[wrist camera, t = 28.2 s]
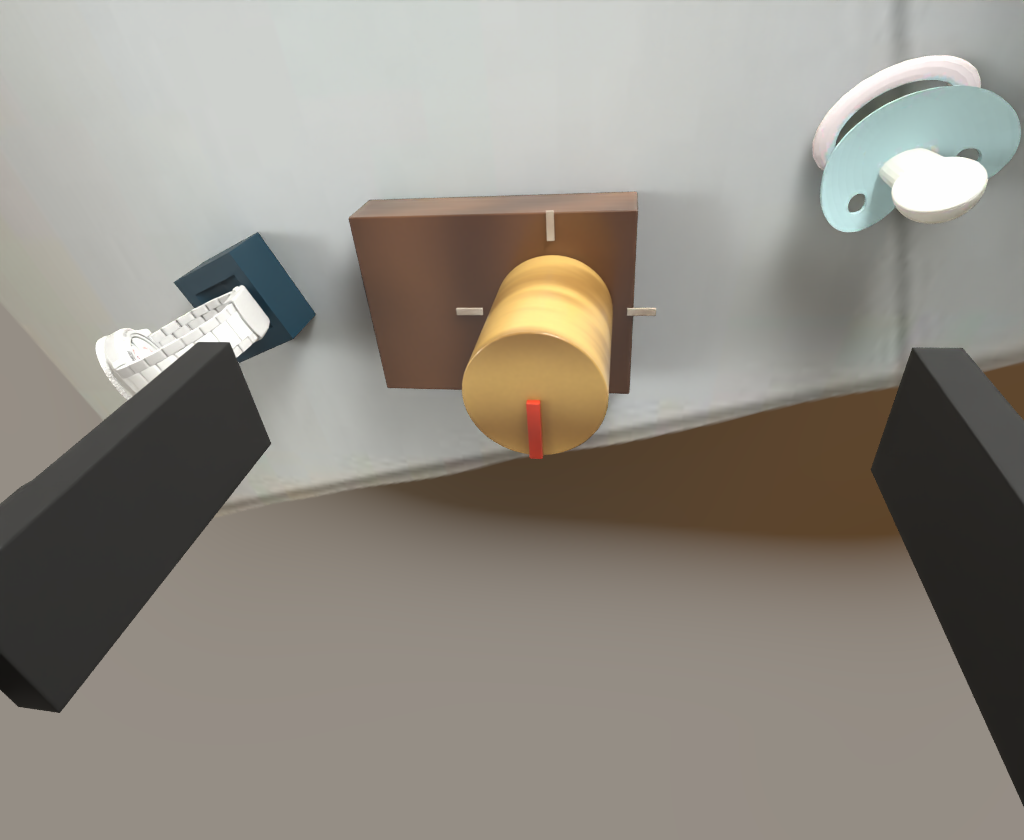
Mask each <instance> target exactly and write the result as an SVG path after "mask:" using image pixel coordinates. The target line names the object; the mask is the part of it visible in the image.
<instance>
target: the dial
mask: <svg viewBox="0 0 1024 840" xmlns="http://www.w3.org/2000/svg"><path fill="white" fill-rule="evenodd" d="M612 321H613V304H612V299H611V296H610V293H609V290H608V288H607V286H606V284H605V283H604V281H603V280H602V279H601V277H600V276H599V275H598V274H597V273H596V272H595V271H594V270H592V269H591V268H590V267H589V266H587V265H585V264H584V263H582V262H580V261H578V260H576V259H572V258H569V257H565V256H559V255H546V256H540V257H535V258H532V259H529V260H527V261H525V262H523V263H521V264H520V265H518V266H517V267H515V268H514V269H513V270H512V271H511V272H510V273H509V274H508V275H507V276H506V278H505V279H504V281H503V282H502V284H501V286H500V288H499V290H498V293H497V295H496V298H495V300H494V302H493V305H492V307H491V310H490V312H489V314H488V317H487V319H486V322H485V324H484V326H483V329H482V331H481V333H480V336H479V338H478V341H477V343H476V345H475V348H474V350H473V353H472V355H471V357H470V360H469V362H468V365H467V367H466V369H465V372H464V376H463V380H462V396H463V401H464V404H465V407H466V410H467V412H468V414H469V416H470V418H471V419H472V421H473V422H474V424H475V425H476V426H477V427H478V428H479V429H480V431H481V432H483V433H484V434H485V435H486V436H487V437H488V438H490V439H491V440H493V441H494V442H496V443H498V444H499V445H501V446H503V447H505V448H508V449H510V450H513V451H517V452H520V453H525V454H529V455H530V458H532V459H542V458H543V455H550V454H557V453H561V452H565V451H568V450H571V449H573V448H575V447H577V446H579V445H581V444H582V443H584V442H585V441H586V440H588V439H589V438H590V437H591V436H592V435H593V434H594V433H595V432H596V431H597V430H598V428H599V427H600V425H601V424H602V422H603V420H604V417H605V415H606V411H607V408H608V398H609V378H610V359H611V340H612Z"/></svg>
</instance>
